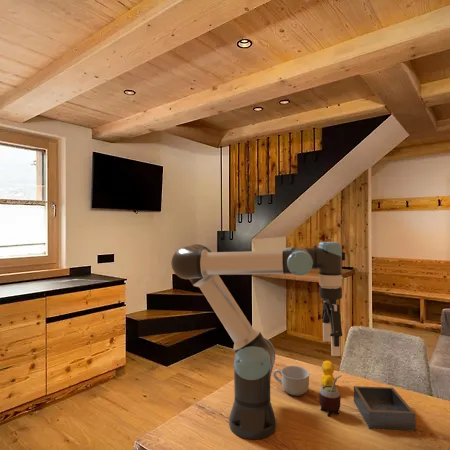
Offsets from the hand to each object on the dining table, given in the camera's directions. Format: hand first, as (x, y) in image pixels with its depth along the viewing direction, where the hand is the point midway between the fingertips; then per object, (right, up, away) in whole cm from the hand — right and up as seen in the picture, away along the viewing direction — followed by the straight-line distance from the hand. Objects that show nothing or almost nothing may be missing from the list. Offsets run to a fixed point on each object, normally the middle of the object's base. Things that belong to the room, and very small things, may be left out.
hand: (331, 348), depth 116 cm
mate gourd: (0, -23, 0) cm, 23 cm away
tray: (+17, -22, -1) cm, 28 cm away
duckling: (+5, -23, +18) cm, 29 cm away
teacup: (-11, -23, +16) cm, 29 cm away
